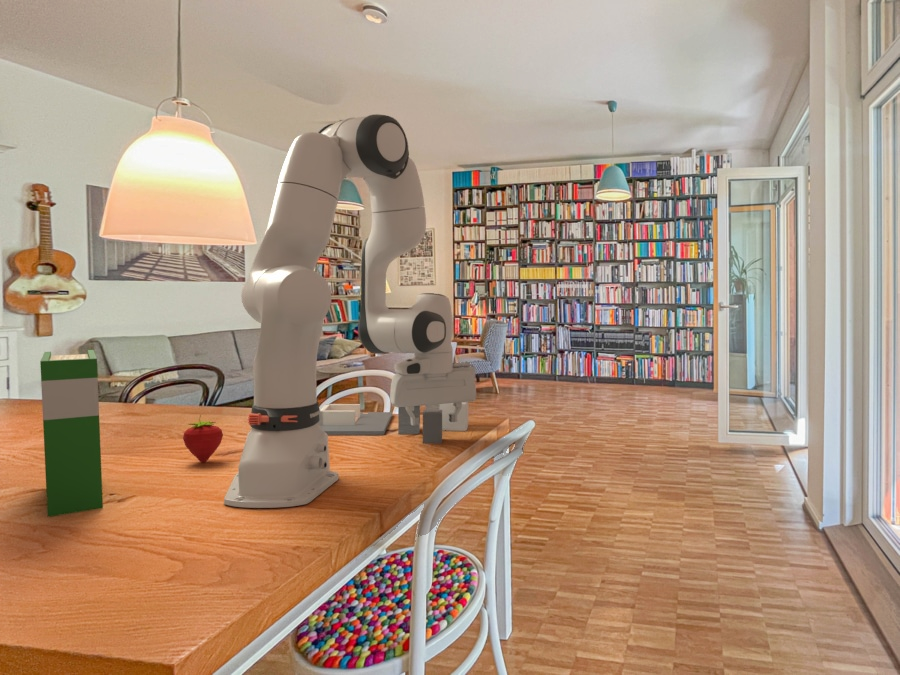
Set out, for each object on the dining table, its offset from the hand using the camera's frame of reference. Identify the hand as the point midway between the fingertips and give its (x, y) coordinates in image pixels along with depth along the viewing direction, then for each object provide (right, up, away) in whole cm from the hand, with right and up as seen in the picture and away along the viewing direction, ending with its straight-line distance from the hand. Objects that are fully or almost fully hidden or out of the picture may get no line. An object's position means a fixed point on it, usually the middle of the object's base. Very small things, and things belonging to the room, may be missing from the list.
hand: (434, 423), depth 143 cm
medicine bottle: (+5, -3, +14) cm, 15 cm away
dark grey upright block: (-6, -4, +10) cm, 13 cm away
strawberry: (-46, -6, -18) cm, 50 cm away
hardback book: (-60, -7, -39) cm, 72 cm away
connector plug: (0, -4, 0) cm, 4 cm away
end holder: (-24, -3, +18) cm, 31 cm away
